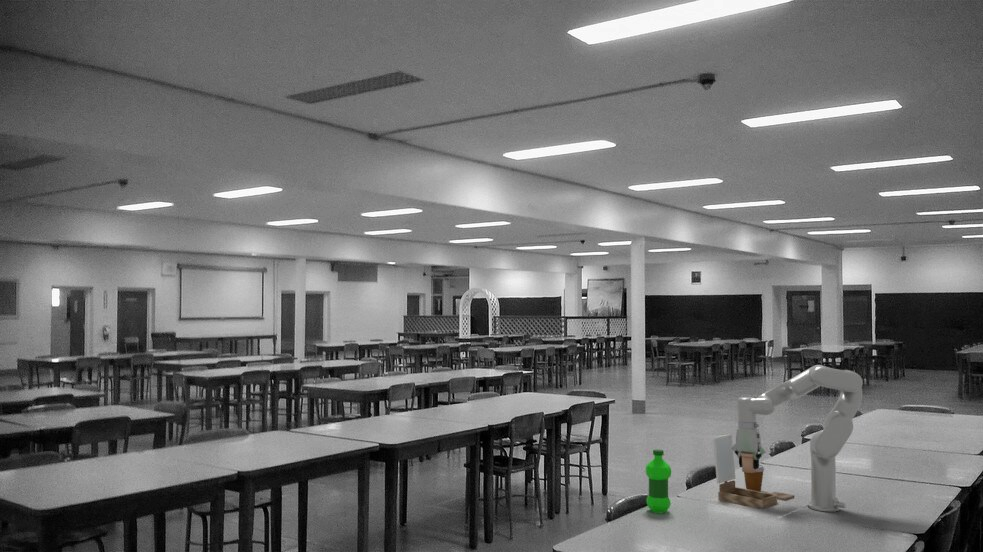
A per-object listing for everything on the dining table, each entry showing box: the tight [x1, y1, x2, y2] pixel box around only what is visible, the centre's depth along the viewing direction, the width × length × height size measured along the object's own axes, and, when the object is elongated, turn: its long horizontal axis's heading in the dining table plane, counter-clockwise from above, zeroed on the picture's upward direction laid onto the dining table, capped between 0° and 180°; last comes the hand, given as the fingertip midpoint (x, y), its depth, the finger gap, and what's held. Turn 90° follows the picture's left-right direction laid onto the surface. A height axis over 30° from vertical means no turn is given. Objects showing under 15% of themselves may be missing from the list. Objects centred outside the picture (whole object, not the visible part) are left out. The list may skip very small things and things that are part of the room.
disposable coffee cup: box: [743, 464, 765, 492], centre depth 343 cm, size 10×10×12 cm
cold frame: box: [717, 480, 778, 510], centre depth 324 cm, size 22×14×20 cm, turn 44°
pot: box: [740, 452, 757, 473], centre depth 323 cm, size 7×7×8 cm
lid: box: [712, 433, 736, 484], centre depth 331 cm, size 20×15×1 cm
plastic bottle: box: [645, 448, 672, 514], centre depth 308 cm, size 10×10×25 cm
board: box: [769, 491, 795, 502], centre depth 331 cm, size 9×9×2 cm
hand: (749, 467), depth 323 cm, fingers closed on pot, 5 cm apart
